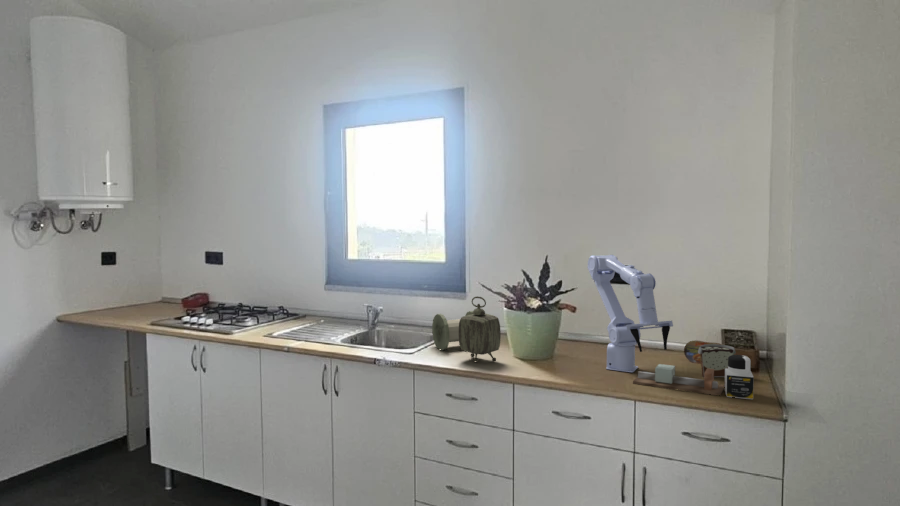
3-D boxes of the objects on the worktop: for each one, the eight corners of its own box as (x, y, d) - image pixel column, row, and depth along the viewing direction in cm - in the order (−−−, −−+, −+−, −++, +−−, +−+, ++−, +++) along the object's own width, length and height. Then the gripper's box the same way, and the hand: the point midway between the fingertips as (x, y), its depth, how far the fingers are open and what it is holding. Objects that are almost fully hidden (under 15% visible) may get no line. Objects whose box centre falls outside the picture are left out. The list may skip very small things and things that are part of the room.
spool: (466, 342, 243) (466, 308, 242) (482, 349, 230) (481, 314, 229) (432, 346, 237) (431, 311, 236) (446, 353, 223) (445, 317, 222)
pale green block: (655, 381, 178) (655, 368, 177) (658, 376, 183) (659, 363, 182) (671, 383, 175) (671, 370, 175) (674, 379, 180) (675, 365, 180)
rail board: (633, 383, 179) (633, 365, 179) (640, 375, 188) (640, 358, 188) (720, 396, 166) (721, 376, 165) (724, 387, 174) (724, 368, 174)
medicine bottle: (726, 397, 165) (727, 358, 164) (724, 390, 171) (725, 352, 170) (753, 399, 162) (754, 360, 161) (750, 392, 168) (751, 354, 168)
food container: (725, 371, 192) (726, 343, 191) (735, 376, 186) (735, 347, 185) (691, 372, 191) (691, 344, 191) (699, 377, 185) (700, 348, 185)
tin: (683, 361, 206) (683, 339, 206) (686, 359, 209) (686, 337, 208) (726, 368, 196) (726, 345, 196) (729, 366, 198) (729, 343, 198)
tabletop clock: (500, 361, 209) (500, 297, 207) (486, 366, 202) (485, 299, 201) (471, 355, 219) (471, 293, 217) (456, 360, 212) (456, 296, 210)
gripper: (624, 311, 182) (630, 352, 179) (670, 306, 177) (677, 348, 175) (624, 312, 188) (630, 352, 186) (669, 307, 184) (676, 348, 181)
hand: (653, 350), depth 181 cm, fingers open, 7 cm apart
